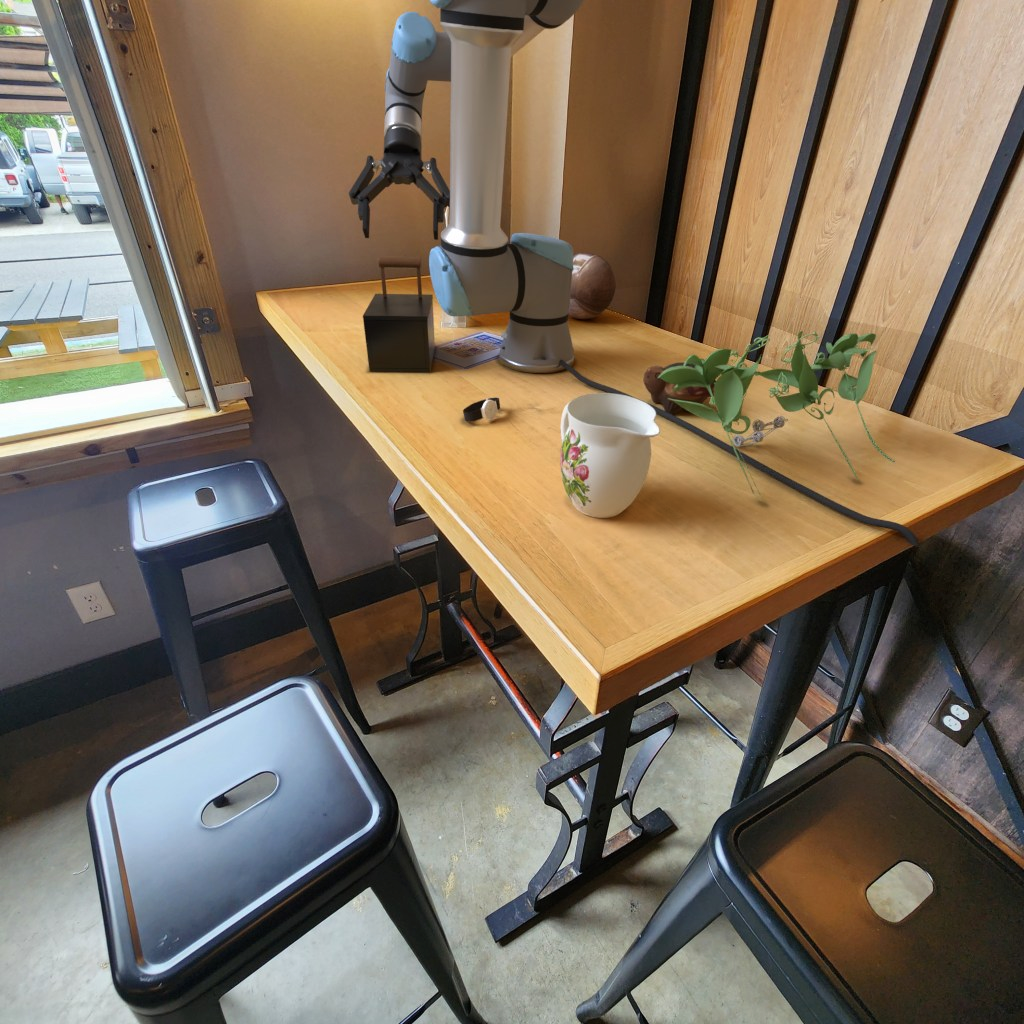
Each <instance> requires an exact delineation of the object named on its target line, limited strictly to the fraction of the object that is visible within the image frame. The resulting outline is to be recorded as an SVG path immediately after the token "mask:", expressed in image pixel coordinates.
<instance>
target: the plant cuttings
mask: <svg viewBox="0 0 1024 1024" xmlns="http://www.w3.org/2000/svg"><path fill="white" fill-rule="evenodd" d="M803 333H804V331H803V330H800V331H799V332H798V334H797V341H796V342H794V343H793V345H792V344H789V346H788V347H786V348H785V349H784V350H785V352H784V353H782V354H781V356H780V361H781V362H782V364H785V365H789V364H790V366H791V367H790V368H791V370H790V369H786V368H773V369H768V370H764V371H759V370H757V369H758V367H759V364H760V362H761V359H762V357H761V356H762V355H759V357H758V359H757V360H756V362H754V363H753V364H752V365H750V366H749V367H748V365H747V363H746V362H745V361H746V358H747V356H748V355H749V353H750V352H753V351H756V350H759V349H760V348H762V347H764V346H766V345H767V344H768V343H769V342H770V341H771V339H770V338H769V336H770V334H768V335H766V336H764V337H756V338H755V339H754V340H753V343H752V344H751V343H747V346H746V347H745V352H744V353H743V354H742V356H741V357H740V358H739V353H738V352H739V350H735V349H729V348H719V349H716V350H714V351H712V352H711V353H710V354H708V355H707V357H706V358H705V359H704V358H700V357H699V356H698V355H697V354H691V355H689V356H688V357H687V358H686V359H685V361H684V362H685V363H684V365H683V366H675V367H671V368H668V369H666V370H665V371H663V372H662V373H661V374H660V375H659V376H658V378H661V379H662V380H664V381H666V382H668V383H671V384H675V387H674V389H673V392H675V391H677V390H680V389H683V388H686V387H690V386H699V387H707V389H708V391H709V393H710V395H711V397H710V400H709V405H706V404H703V403H702V404H700V403H696V402H690V401H683V400H676V399H670V398H668V399H669V400H672V401H674V402H675V403H677V404H678V405H679V406H681V408H682V409H684V410H685V411H688V412H689V413H691V414H693V415H695V416H697V417H699V418H702V419H704V420H706V421H710V422H713V423H714V422H715V423H719V424H721V428H722V429H723V430H724V431H725V432H726V435H727V437H728V440H729V442H730V444H731V446H732V447H733V449H734V451H735V454H736V456H737V457H736V456H735V457H736V459H737V460H738V463H739V465H740V467H741V470H742V472H743V474H744V476H745V478H746V481H747V482H748V485H749V487H750V489H751V492H752V494H753V495H754V494H755V491H754V490H753V489H754V488H752V485H751V483H750V480H749V478H748V476H747V472H746V471H745V468H744V466H743V463H744V465H745V466H746V469H747V471H748V473H749V475H750V478H751V480H752V482H753V484H754V486H755V488H756V490H757V492H758V494H759V496H760V498H761V499H762V501H764V499H763V496H762V495H761V492H760V491H759V489H758V486H757V484H756V483H755V480H754V479H753V476H752V474H751V473H750V471H749V468H748V466H747V465H746V464H747V463H746V462H745V461H744V460H742V461H743V463H742V461H741V459H740V458H739V456H738V454H737V452H736V449H737V450H739V452H740V451H741V450H740V449H739V448H741V447H746V446H750V445H753V444H755V443H760V442H763V441H764V438H765V437H766V436H768V435H769V434H771V433H772V432H774V431H775V430H776V429H781V428H783V427H784V426H785V423H786V422H788V421H789V419H788V418H785V417H784V416H783V415H777V416H776V417H774V419H773V421H768V422H766V423H765V422H764V421H762V420H761V419H755V420H754V421H753V422H752V421H751V419H750V417H748V416H746V415H742V409H743V404H744V400H745V399H744V398H746V396H747V392H748V389H749V387H750V385H751V383H752V381H753V378H754V376H755V377H758V376H760V377H762V378H765V379H767V380H770V381H773V382H777V384H776V387H770V388H769V389H768V391H769V398H771V399H772V398H775V399H776V400H777V402H778V404H779V405H780V406H781V407H782V409H783V410H784V411H785V412H789V413H794V412H795V413H796V412H798V411H801V410H804V411H805V412H806V413H808V414H809V415H810V416H811V417H813V418H814V419H817V420H819V421H820V420H823V421H824V423H825V424H826V426H827V428H828V429H829V431H830V433H831V435H832V437H833V438H834V441H835V442H836V444H837V446H838V448H839V450H840V451H841V453H842V455H843V457H844V459H845V461H846V462H847V464H848V466H849V468H850V470H851V472H852V473H853V475H854V477H855V479H856V481H857V482H858V483H859V478H858V475H857V473H856V472H855V470H854V468H853V465H852V464H851V462H850V460H849V458H848V457H847V454H846V453H845V451H844V449H843V448H842V446H841V444H840V443H839V440H838V439H837V438H836V436H835V434H834V432H833V431H832V429H831V427H830V426H829V423H828V422H827V421H826V418H825V415H824V413H825V414H826V415H829V416H830V415H831V414H832V413H833V411H834V409H835V408H834V407H835V403H833V404H832V407H831V408H830V410H829V411H826V408H825V406H827V403H826V402H823V411H824V413H823V411H822V410H820V409H819V407H818V406H820V405H822V398H823V396H824V395H825V394H826V393H829V392H830V393H832V396H833V397H835V392H834V389H832V388H831V387H830V388H824V389H823V390H822V391H821V392H820V393H818V392H819V381H818V377H817V375H816V373H815V372H816V371H819V370H832V369H835V370H838V371H840V372H841V371H842V372H843V375H842V376H841V378H840V381H839V384H838V386H837V392H838V395H839V397H840V398H842V399H844V400H848V401H851V402H854V403H855V404H856V407H857V410H858V413H859V416H860V419H861V422H862V425H863V427H864V430H865V432H866V434H867V437H868V438H869V439H868V440H870V442H871V444H872V445H873V447H874V448H875V449H876V450H877V452H878V453H879V454H880V455H881V456H883V457H884V458H885V459H887V460H888V461H890V462H891V463H896V460H894V459H892V458H891V457H890V456H888V455H887V454H886V453H885V452H884V451H883V450H882V449H881V448H880V447H879V446H878V445H877V443H876V442H875V440H874V439H873V436H872V435H871V433H870V431H869V429H868V426H867V425H866V422H865V420H864V417H863V415H862V413H861V410H860V406H859V403H860V402H861V401H862V400H863V398H864V397H865V395H866V393H867V391H868V389H869V386H870V383H871V378H872V374H873V369H874V368H873V367H874V360H875V356H876V353H877V350H873V348H868V349H866V348H861V347H859V346H860V345H859V343H863V342H869V343H870V346H873V343H874V342H875V340H876V337H877V335H876V333H872V332H870V333H864V334H862V335H860V336H859V335H858V334H857V333H847V334H845V335H843V336H841V337H840V338H838V339H837V340H836V342H834V344H832V343H831V342H828V341H826V343H825V348H826V350H827V352H828V354H829V356H828V357H826V354H825V352H822V351H820V352H817V353H816V356H817V357H816V358H815V359H814V361H813V364H812V365H810V363H809V360H808V358H807V355H806V352H805V351H806V350H805V349H806V346H808V345H811V344H813V343H815V342H817V341H818V340H819V339H820V337H821V336H820V335H819V334H818V333H817V332H816V331H813V333H808V334H805V335H803ZM802 335H803V336H802ZM808 336H814V337H815V338H814V339H813V340H812V341H810V342H808V343H802V340H803V339H804V338H806V337H808ZM759 343H761V344H759ZM757 344H758V347H756V348H753V347H754V346H756V345H757ZM752 348H753V349H752ZM792 349H794V351H793V353H792V356H791V358H789V357H785V358H784V359H783V357H784V355H785V354H786V353H788V352H789V351H790V350H792ZM872 350H873V351H872ZM869 351H871V352H870V353H869V354H868V355H866V354H867V352H869ZM855 354H857V355H860V356H861V358H863V360H862V362H861V364H860V367H859V369H858V373H857V377H855V376H853V375H850V374H848V373H847V371H845V370H846V369H848V368H850V367H851V366H850V365H851V360H852V357H853V356H854V355H855ZM732 356H733V357H734V358H735V360H734V359H730V358H731V357H732ZM820 356H822V357H820ZM864 357H865V358H864ZM729 361H730V362H732V363H731V364H728V363H729ZM736 361H737V362H736ZM735 362H736V363H735ZM686 364H695V369H694V368H692V367H689V366H685V365H686ZM734 364H735V365H734ZM714 380H716V383H714V384H715V386H714V396H713V394H712V391H711V388H710V385H711V384H712V383H713V382H714ZM780 384H781V385H780ZM790 386H791V387H794V388H796V389H798V392H796V393H791V394H789V393H790ZM779 388H781V390H780V389H779ZM788 394H789V395H788ZM781 395H782V396H781ZM816 403H817V406H816V407H817V408H816V407H811V408H810V411H811V412H812V413H815V411H817V412H818V413H819V415H820V417H818V416H816V415H814V414H812V413H811V412H809V411H808V410H807V409H806V408H807V407H809V406H811V405H813V404H816ZM711 406H712V407H714V408H716V410H717V411H716V410H715V409H713V408H712V407H711ZM739 420H742V421H743V422H744V423H745V429H744V430H741V431H740V430H737V429H736V430H735V429H734V428H732V427H733V422H734V423H736V424H737V426H739V424H740V423H739ZM751 424H752V429H753V432H752V433H750V434H749V435H747V436H746V438H744V436H743V435H742V434H745V433H746V432H747V431H748V430H749V429H750V427H751ZM772 425H773V427H771V428H766V427H768V426H772ZM763 431H766V432H765V433H763ZM729 433H730V434H729ZM733 434H734V436H733ZM730 435H731V436H730ZM731 437H732V438H731ZM750 440H751V441H752V442H751V443H748V444H747V443H746V444H744V443H745V442H747V441H750ZM740 454H741V453H740ZM741 456H742V455H741ZM742 459H743V457H742Z"/></svg>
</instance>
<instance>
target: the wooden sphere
mask: <svg viewBox="0 0 1024 1024" xmlns="http://www.w3.org/2000/svg"><path fill="white" fill-rule="evenodd" d="M573 268H574V270H573V271H572V282H571V294H570V305H569V316H570V317H571V318H574V319H578V320H589V319H593V318H595V317H598V316H599V315H601V314H602V313H604V312H605V311H606V310H607V309H608V307H609V306H610V305H611V303H612V301H613V300H614V297H615V293H616V286H617V284H616V283H617V282H616V275H615V272H614V270H613V268H612V266H611V265H610V264H609V262H608V261H607V260H606V259H605V258H603V257H602V256H600V255H598V254H596V253H593V252H580V253H576V254H573ZM569 316H568V317H569Z"/></svg>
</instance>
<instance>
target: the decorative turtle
mask: <svg viewBox="0 0 1024 1024" xmlns="http://www.w3.org/2000/svg"><path fill="white" fill-rule="evenodd" d="M684 363H685V361H684V362H682V361H681V362H675V363H671V364H668V365H666V366H664V367H663V366H661V365H651V366H649V367H648V368H647V369H646V370H645V372H644V374H643V379H642V380H643V384H644V386H645V389H646V390H647V392H648V393H649V394H650V398H651V402H653V403H654V404H660V403H661V405H662V406H663V409H664V411H666V412H668V413H670V414H672V415H673V414H674V413H675V412H677V411H679V409H681V408H682V407H681V406H679V405H678V404H677V403H675V402H674V401H672V400H669V399H668V398H670V399H676V400H683V401H690V402H696V403H700V404H703V403H704V402H705V401H706V400H708V398H712V397H711V395H710V393H709V391H708V389H707V387H699V386H690V387H686V388H683V389H680V390H677V391H675V392H673V389H674V387H675V384H671V383H668V382H666V381H664V380H662V379H661V378H658V376H659V375H660V374H661V373H662V372H663V371H665V370H666V369H668V368H671V367H675V366H683V365H684ZM685 366H689V367H692V368H694V369H695V364H686V365H685ZM716 381H717V379H715V380H714V382H713V383H712V384H711V385H710V388H711V391H712V394H713V396H714V386H715V384H714V383H716Z"/></svg>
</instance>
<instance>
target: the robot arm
mask: <svg viewBox="0 0 1024 1024" xmlns="http://www.w3.org/2000/svg"><path fill="white" fill-rule="evenodd" d="M584 1H585V0H429V3H431V4H432V5H433V6H435V8H437V9H438V10H439V11H440V15H439V16H440V18H439V20H440V21H439V22H440V23H439V24H440V26H441V27H442V29H443V30H444V31H437V30H436V27H435V25H434V24H433V22H432V21H431V20H430V19H429V18H428V17H427V16H425V15H423V16H422V15H421V14H419V12H418V11H406V12H403V13H402V14H401V15H400V16H398V18H397V20H396V22H395V26H394V29H393V33H392V34H393V35H392V38H391V47H390V48H391V49H390V56H389V58H390V59H389V67H388V69H387V70H386V76H385V82H384V83H385V84H384V92H385V98H384V101H385V102H384V103H385V105H384V108H385V109H384V123H383V124H384V126H383V127H384V129H383V156H382V158H381V159H374V157H373V155H371V154H370V155H367V157H366V161H365V165H364V167H363V169H362V170H361V171H360V173H359V175H358V177H357V178H356V179H355V181H354V183H353V184H352V187H351V188H350V190H349V191H348V196H349V199H350V202H351V204H352V205H353V206H354V205H357V215H358V218H359V221H362V232H363V235H364V238H365V239H370V224H371V222H370V220H371V207H370V204H371V202H373V201H374V200H375V199H376V198H377V196H379V195H380V194H381V193H382V192H383V191H384V190H385V189H386V188H389V187H390V186H391V185H392V184H394V185H402V184H403V185H407V186H411V184H414V185H415V186H416V188H418V189H420V190H421V191H422V193H424V195H425V196H426V197H427V198H428V199H429V200H430V201H431V202H432V203H433V204H432V207H433V208H432V210H433V211H432V212H433V215H432V232H433V233H432V234H433V239H434V240H435V241H438V240H439V224H441V223H444V221H445V208H449V223H448V225H447V226H445V228H444V229H442V231H441V232H440V245H438V246H437V245H436V246H435V247H432V248H431V249H430V251H429V256H428V265H429V266H428V267H429V274H430V280H431V285H432V288H433V292H434V294H435V298H436V300H437V302H438V304H439V306H440V307H441V308H440V309H442V311H443V312H444V313H445V314H446V315H447V316H450V317H469V318H471V317H473V316H483V315H491V314H492V315H493V314H499V313H500V314H503V313H509V316H508V317H509V319H508V323H507V327H506V330H505V332H503V331H501V333H500V337H501V338H502V341H501V344H500V348H499V362H500V363H501V364H503V366H505V367H507V368H510V369H512V370H514V371H519V372H524V373H532V374H551V373H556V372H557V373H558V372H561V371H565V370H567V371H568V372H569V373H570V374H572V375H573V376H574V377H575V378H576V379H577V380H578V381H580V382H582V383H584V384H585V385H588V386H590V387H592V388H594V389H597V390H600V391H603V392H605V393H613V394H620V395H626V396H630V397H633V398H636V399H639V398H638V397H635V396H633V395H630V394H628V393H626V392H623V391H621V390H618V389H616V388H614V387H611V386H607V385H605V384H602V383H599V382H597V381H593V380H591V379H589V378H587V377H586V376H584V375H582V374H581V373H580V372H578V371H577V369H575V368H574V367H572V366H573V365H574V363H575V349H574V345H573V339H572V336H571V332H570V331H571V330H570V327H569V326H570V325H569V305H570V294H571V282H572V271H573V270H574V268H573V256H574V249H573V246H572V245H571V244H570V243H569V242H567V241H565V240H563V239H559V238H556V237H552V236H547V235H541V234H534V233H527V232H517V233H516V232H515V233H512V235H511V237H510V240H509V237H508V236H507V234H506V233H505V232H504V230H503V229H502V228H501V219H502V204H503V187H504V173H505V172H504V171H505V159H506V142H507V141H506V140H507V126H508V125H507V124H508V110H509V95H510V93H509V92H510V77H511V65H512V64H511V62H512V57H513V56H515V54H517V53H519V51H520V50H522V48H524V47H525V46H526V45H528V44H529V43H530V42H531V41H532V40H534V39H535V38H536V37H537V36H538V35H539V34H541V33H542V32H543V31H544V30H553V29H557V28H559V27H561V26H562V25H564V24H565V23H566V22H567V21H568V20H570V19H571V18H572V17H573V16H574V15H575V14H577V12H578V10H579V9H580V8H581V6H582V5H583V3H584ZM428 81H429V82H447V83H448V82H449V83H450V132H449V133H450V134H449V135H450V138H449V139H450V141H449V142H450V143H449V145H450V147H449V149H450V150H449V186H448V185H447V183H446V181H445V179H444V178H443V175H442V174H441V172H440V170H439V169H438V165H437V158H435V157H430V159H429V161H423V159H422V153H423V152H422V142H423V104H424V99H425V93H426V89H427V86H428ZM380 169H381V170H380ZM379 170H380V171H379ZM424 170H425V171H426V172H427V173H428V175H429V176H431V178H432V180H433V182H434V184H435V186H436V188H437V189H436V188H435V187H434V186H433V185H432V183H430V182H429V181H428V179H427V178H426V177H425V176H424V175H423V172H424ZM378 171H379V175H377V176H376V177H375V178H374V176H375V174H378ZM509 241H510V243H509ZM639 400H641V399H639ZM641 401H643V402H645V403H647V404H648V405H650V406H651V407H653V408H654V409H655V411H656V415H659V416H661V417H663V418H665V419H667V420H669V421H671V422H673V423H675V424H677V425H678V426H680V427H682V428H684V429H686V430H688V431H690V432H691V433H694V434H696V435H697V436H699V437H701V438H703V439H705V440H706V441H708V442H710V443H711V444H713V445H715V446H717V447H719V448H721V449H722V450H724V451H726V452H727V453H729V454H730V455H733V456H734V457H736V458H737V456H736V454H735V451H734V449H733V447H732V445H730V444H728V443H726V442H725V441H723V440H721V439H719V438H717V437H715V436H713V435H712V434H710V433H709V432H706V431H705V430H703V429H701V428H699V427H697V426H695V425H693V424H692V423H689V422H688V421H685V420H684V419H682V418H679V417H678V416H676V415H674V414H673V413H672V414H670V413H668V412H666V411H665V409H664V410H663V409H662V408H660V407H657V406H655V405H653V404H651V403H649V402H646V401H644V400H641ZM735 449H736V452H737V454H738V456H739V458H740V461H741V460H742V461H743V460H744V461H743V462H745V464H748V465H750V466H752V467H754V468H755V469H756V470H759V471H761V472H763V473H764V474H766V475H768V476H770V477H771V478H773V479H775V480H777V481H779V482H780V483H782V484H784V485H786V486H787V487H789V488H791V489H793V490H795V491H797V492H799V493H800V494H803V495H805V496H807V497H808V498H811V499H812V500H814V501H817V502H818V503H820V504H822V505H824V506H826V507H828V508H830V509H831V510H833V511H835V512H837V513H839V514H841V515H844V516H846V517H848V518H850V519H852V520H855V521H857V522H859V523H862V524H864V525H868V526H872V527H876V528H882V529H886V530H891V531H894V532H897V533H899V534H900V535H902V536H903V537H904V539H906V541H907V542H908V543H909V544H910V545H911V546H913V547H917V548H919V547H920V546H921V544H920V543H921V542H920V540H919V539H918V538H917V535H916V534H915V533H914V532H913V531H912V530H911V529H910V528H908V527H907V526H906V525H903V524H901V523H898V522H895V521H891V520H886V519H880V518H876V517H871V516H867V515H865V514H862V513H860V512H857V511H855V510H854V509H851V508H849V507H846V506H844V505H842V504H840V503H838V502H837V501H835V500H832V499H831V498H829V497H827V496H825V495H822V494H820V493H819V492H817V491H815V490H812V489H811V488H809V487H807V486H805V485H803V484H802V483H799V482H798V481H795V480H794V479H791V478H790V477H788V476H787V475H784V474H783V473H781V472H778V470H775V469H773V468H772V467H770V466H768V465H766V464H763V463H762V462H760V461H758V460H757V459H755V458H753V457H751V456H749V455H747V453H744V452H742V451H741V450H740V449H739V450H738V448H735ZM739 451H740V452H739ZM740 453H741V454H740ZM741 455H742V456H741ZM742 457H743V459H742Z"/></svg>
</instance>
